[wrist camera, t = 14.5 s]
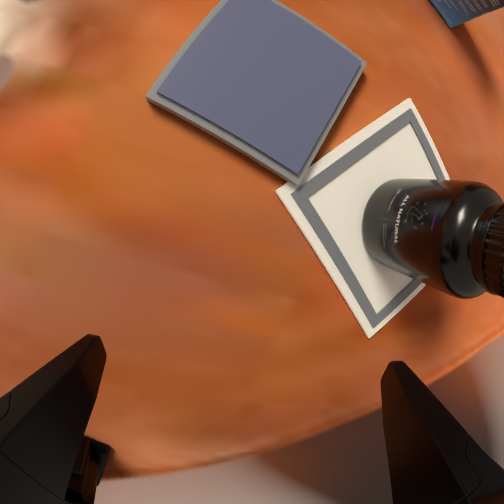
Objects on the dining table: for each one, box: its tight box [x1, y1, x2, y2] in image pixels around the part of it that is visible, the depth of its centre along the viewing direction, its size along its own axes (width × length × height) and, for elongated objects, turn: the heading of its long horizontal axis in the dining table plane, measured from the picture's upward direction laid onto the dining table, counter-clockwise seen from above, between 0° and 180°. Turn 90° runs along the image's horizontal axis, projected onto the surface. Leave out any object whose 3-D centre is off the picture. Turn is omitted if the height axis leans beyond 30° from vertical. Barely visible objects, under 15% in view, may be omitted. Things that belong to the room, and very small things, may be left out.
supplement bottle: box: [362, 179, 504, 299], centre depth 17 cm, size 7×7×12 cm
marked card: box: [275, 98, 450, 338], centre depth 23 cm, size 14×14×1 cm
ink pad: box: [146, 0, 367, 185], centre depth 18 cm, size 11×11×1 cm
